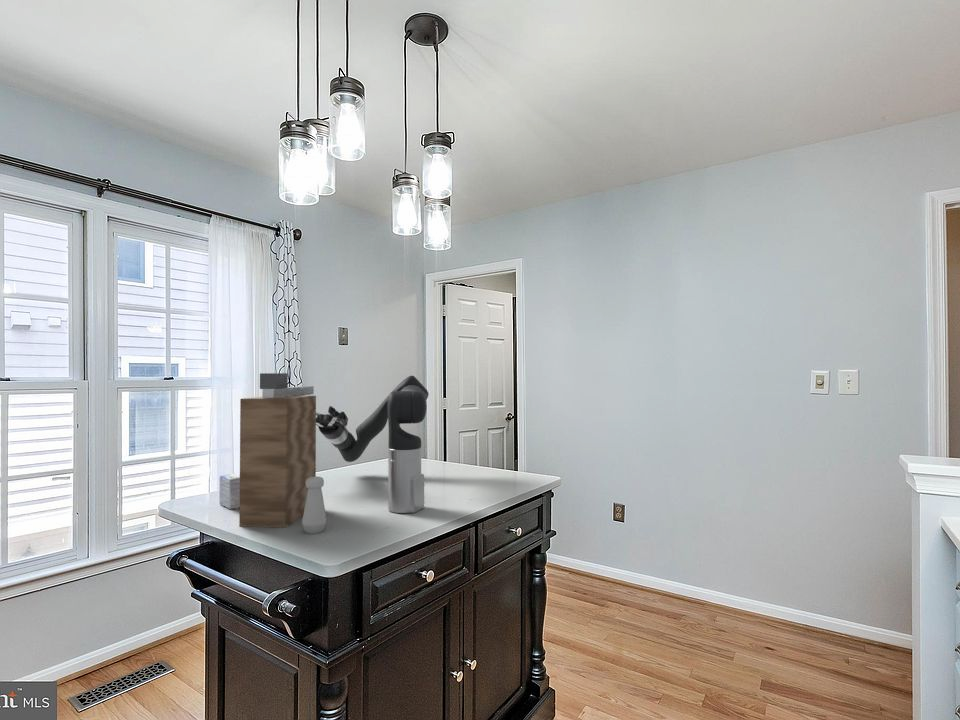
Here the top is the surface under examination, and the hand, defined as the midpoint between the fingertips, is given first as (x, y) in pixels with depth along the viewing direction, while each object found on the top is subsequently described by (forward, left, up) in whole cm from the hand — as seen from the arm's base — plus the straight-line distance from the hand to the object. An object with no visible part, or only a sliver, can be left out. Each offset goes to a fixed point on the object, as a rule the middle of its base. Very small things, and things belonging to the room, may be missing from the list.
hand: (316, 408), depth 160 cm
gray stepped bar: (-5, +17, +5) cm, 19 cm away
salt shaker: (-23, +30, -27) cm, 46 cm away
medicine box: (+15, +19, -27) cm, 36 cm away
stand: (-6, +23, -27) cm, 36 cm away
